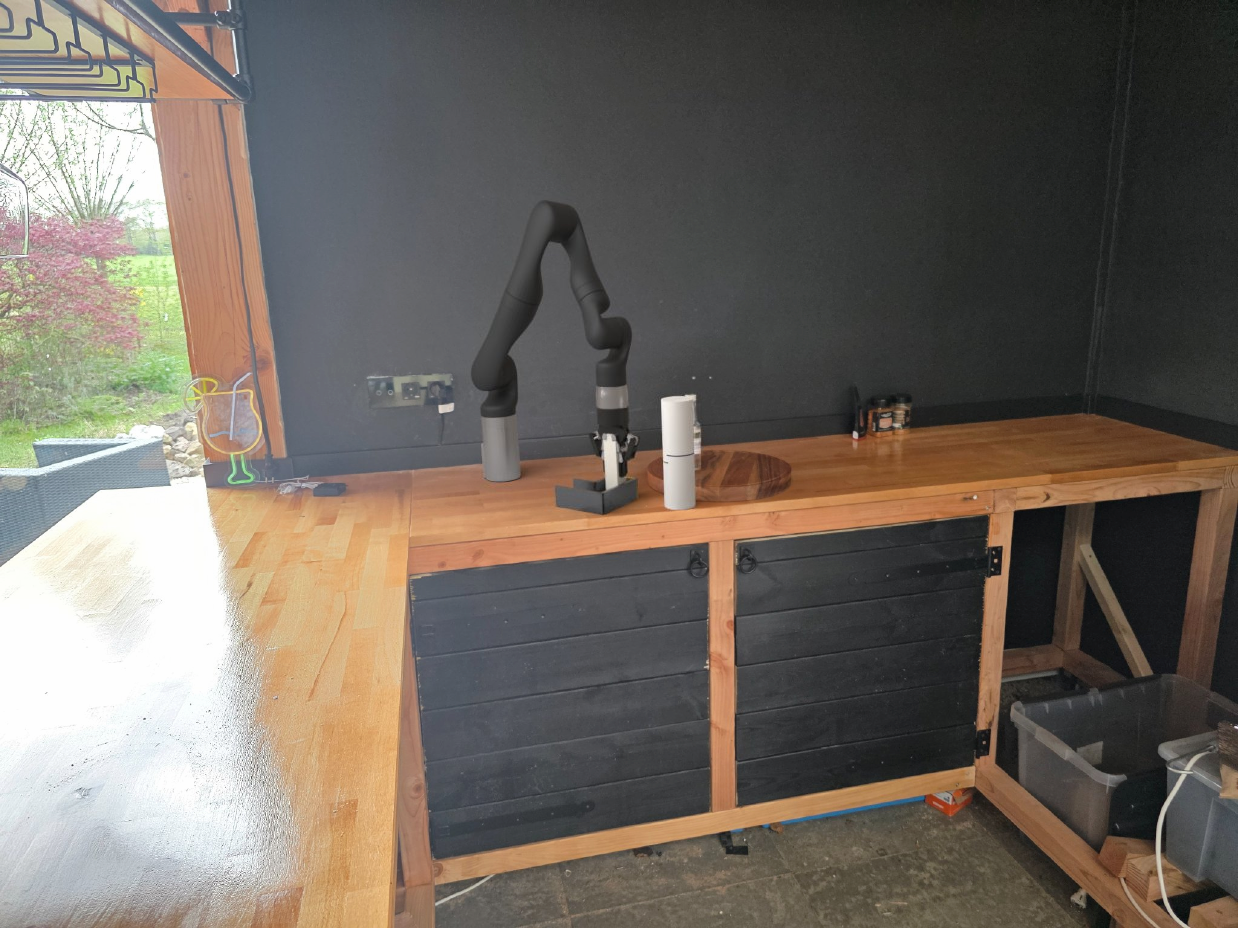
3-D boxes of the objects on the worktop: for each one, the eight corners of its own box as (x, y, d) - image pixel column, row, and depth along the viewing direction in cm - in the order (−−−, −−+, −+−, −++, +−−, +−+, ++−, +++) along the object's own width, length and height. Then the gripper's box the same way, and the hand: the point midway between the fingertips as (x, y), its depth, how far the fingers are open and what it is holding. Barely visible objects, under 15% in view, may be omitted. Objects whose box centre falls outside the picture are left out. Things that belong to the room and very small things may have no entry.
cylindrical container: (684, 511, 190) (681, 402, 184) (658, 507, 194) (654, 400, 188) (701, 503, 196) (698, 397, 189) (675, 499, 200) (672, 395, 194)
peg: (606, 499, 201) (603, 433, 197) (615, 495, 204) (611, 430, 199) (618, 501, 199) (615, 435, 195) (626, 497, 202) (623, 432, 197)
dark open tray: (556, 506, 199) (554, 486, 197) (593, 490, 210) (591, 471, 208) (602, 514, 191) (601, 493, 189) (638, 498, 202) (637, 478, 201)
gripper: (578, 405, 197) (582, 475, 201) (627, 409, 188) (631, 483, 193) (598, 399, 202) (601, 468, 207) (646, 403, 194) (649, 475, 199)
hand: (615, 475), depth 200 cm, fingers closed on peg, 3 cm apart
